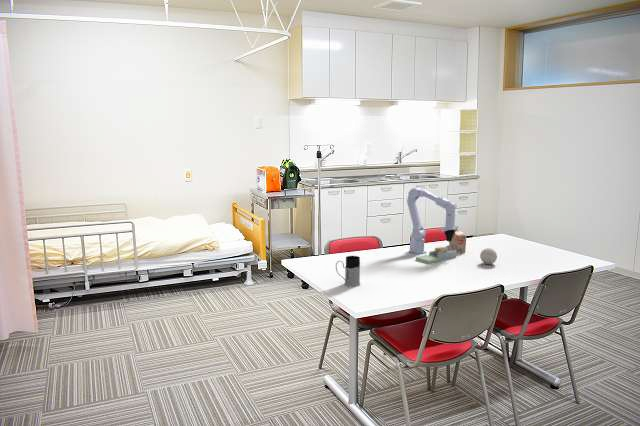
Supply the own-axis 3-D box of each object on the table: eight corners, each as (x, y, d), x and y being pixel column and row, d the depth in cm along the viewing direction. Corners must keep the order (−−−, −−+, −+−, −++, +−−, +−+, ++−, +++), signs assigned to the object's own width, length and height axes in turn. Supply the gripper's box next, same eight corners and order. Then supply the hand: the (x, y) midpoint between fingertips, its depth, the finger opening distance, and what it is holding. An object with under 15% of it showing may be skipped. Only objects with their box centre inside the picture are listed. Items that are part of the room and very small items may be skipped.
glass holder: (363, 285, 280) (363, 258, 277) (338, 288, 275) (338, 261, 273) (356, 281, 288) (357, 254, 286) (332, 283, 283) (333, 256, 281)
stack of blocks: (448, 245, 374) (449, 228, 372) (457, 245, 374) (458, 228, 372) (456, 252, 353) (457, 235, 351) (465, 252, 353) (466, 235, 351)
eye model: (481, 265, 321) (482, 250, 319) (478, 261, 331) (479, 246, 329) (497, 266, 320) (499, 250, 318) (494, 262, 329) (495, 246, 328)
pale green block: (415, 260, 333) (416, 253, 332) (444, 254, 348) (444, 247, 348) (429, 264, 323) (430, 257, 323) (458, 257, 339) (458, 251, 338)
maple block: (434, 255, 338) (434, 247, 337) (439, 254, 340) (440, 246, 340) (440, 256, 334) (440, 249, 333) (445, 255, 336) (446, 248, 336)
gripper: (447, 223, 330) (446, 243, 333) (462, 220, 339) (461, 240, 341) (438, 221, 336) (437, 241, 338) (453, 219, 344) (452, 238, 347)
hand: (449, 241), depth 340 cm, fingers closed
